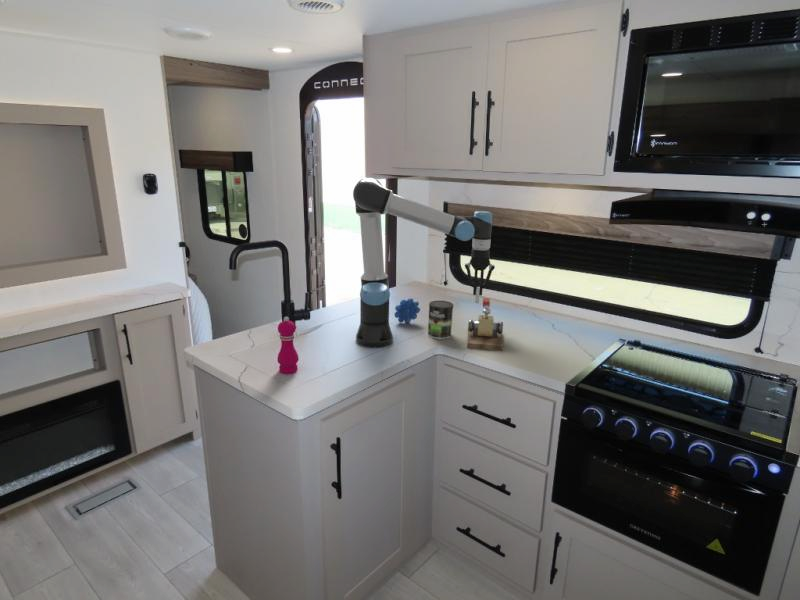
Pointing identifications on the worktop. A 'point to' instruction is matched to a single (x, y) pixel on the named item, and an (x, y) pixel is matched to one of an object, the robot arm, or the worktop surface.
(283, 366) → the pepper mill
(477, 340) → the base board
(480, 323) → the valve body
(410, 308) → the grapes
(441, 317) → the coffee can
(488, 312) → the valve lever
